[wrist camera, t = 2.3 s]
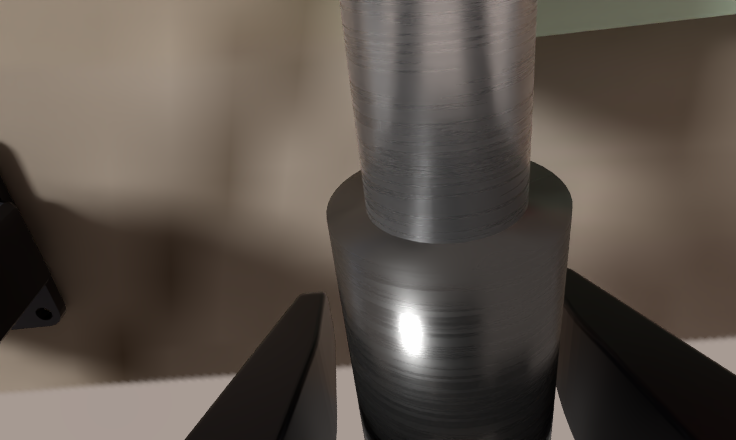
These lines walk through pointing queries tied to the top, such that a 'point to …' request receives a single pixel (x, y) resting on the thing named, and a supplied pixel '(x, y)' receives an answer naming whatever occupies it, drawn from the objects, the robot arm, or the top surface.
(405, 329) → the rod
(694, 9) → the foosball frame
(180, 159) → the top surface
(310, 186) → the top surface
